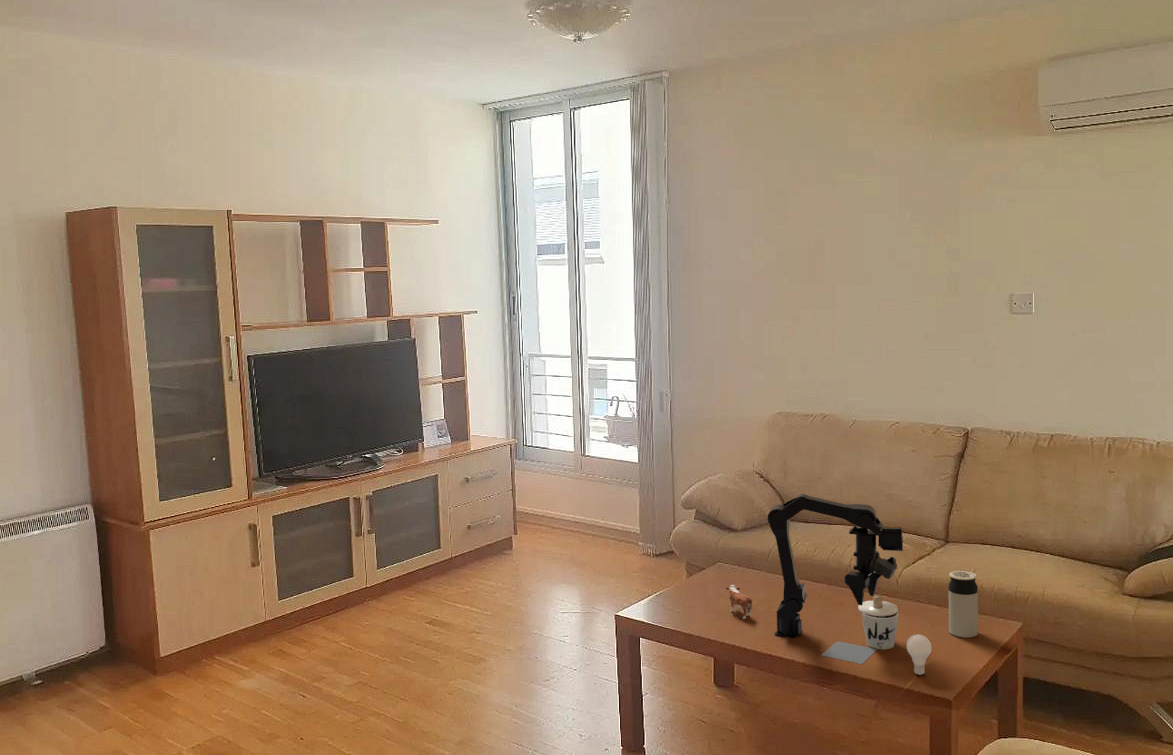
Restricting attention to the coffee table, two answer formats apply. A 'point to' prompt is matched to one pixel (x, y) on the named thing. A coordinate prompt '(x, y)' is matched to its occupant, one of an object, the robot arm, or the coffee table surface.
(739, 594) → the bull figurine
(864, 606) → the lid
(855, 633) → the coffee table surface
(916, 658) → the lightbulb
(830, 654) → the mat
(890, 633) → the mug
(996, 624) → the coffee table surface
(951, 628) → the travel mug
